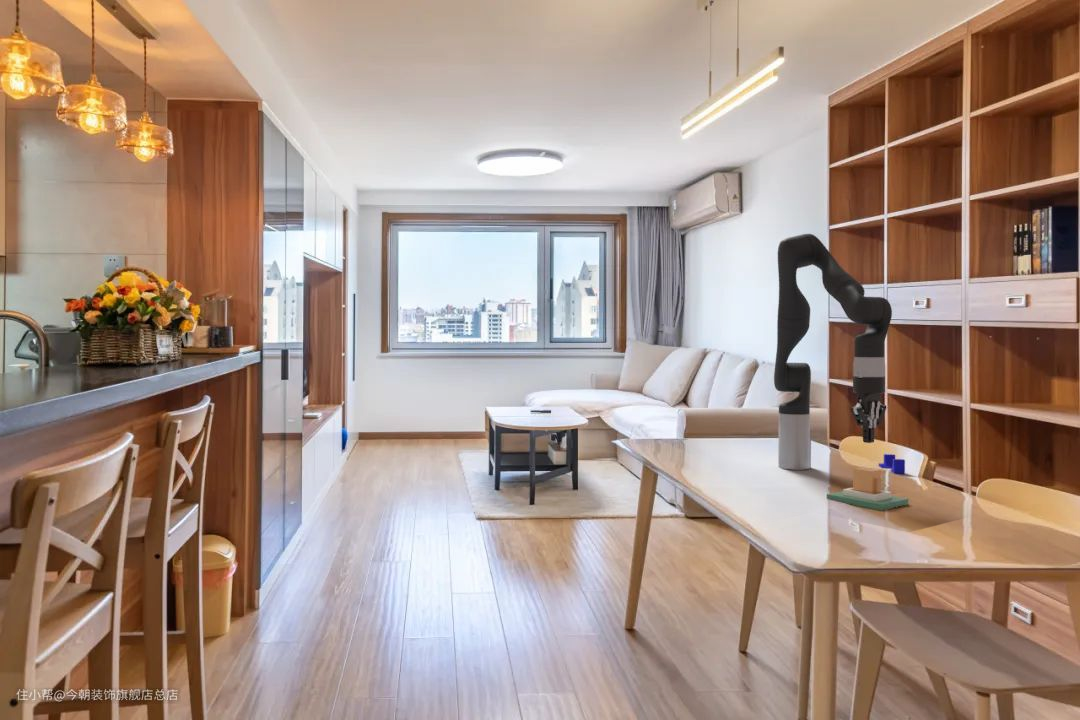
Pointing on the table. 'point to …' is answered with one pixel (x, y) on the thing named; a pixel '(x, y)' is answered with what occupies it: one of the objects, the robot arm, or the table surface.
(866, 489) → the tan rectangular block
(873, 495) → the board
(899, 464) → the cable clip
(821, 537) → the table surface
